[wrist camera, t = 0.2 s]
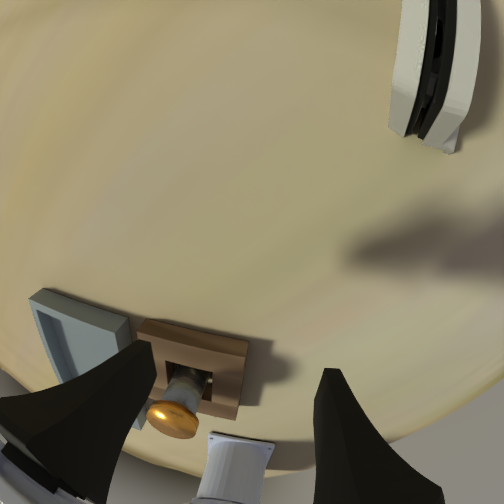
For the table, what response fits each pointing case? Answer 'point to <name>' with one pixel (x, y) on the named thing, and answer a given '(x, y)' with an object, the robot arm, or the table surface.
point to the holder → (198, 364)
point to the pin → (179, 403)
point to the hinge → (435, 69)
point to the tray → (79, 336)
